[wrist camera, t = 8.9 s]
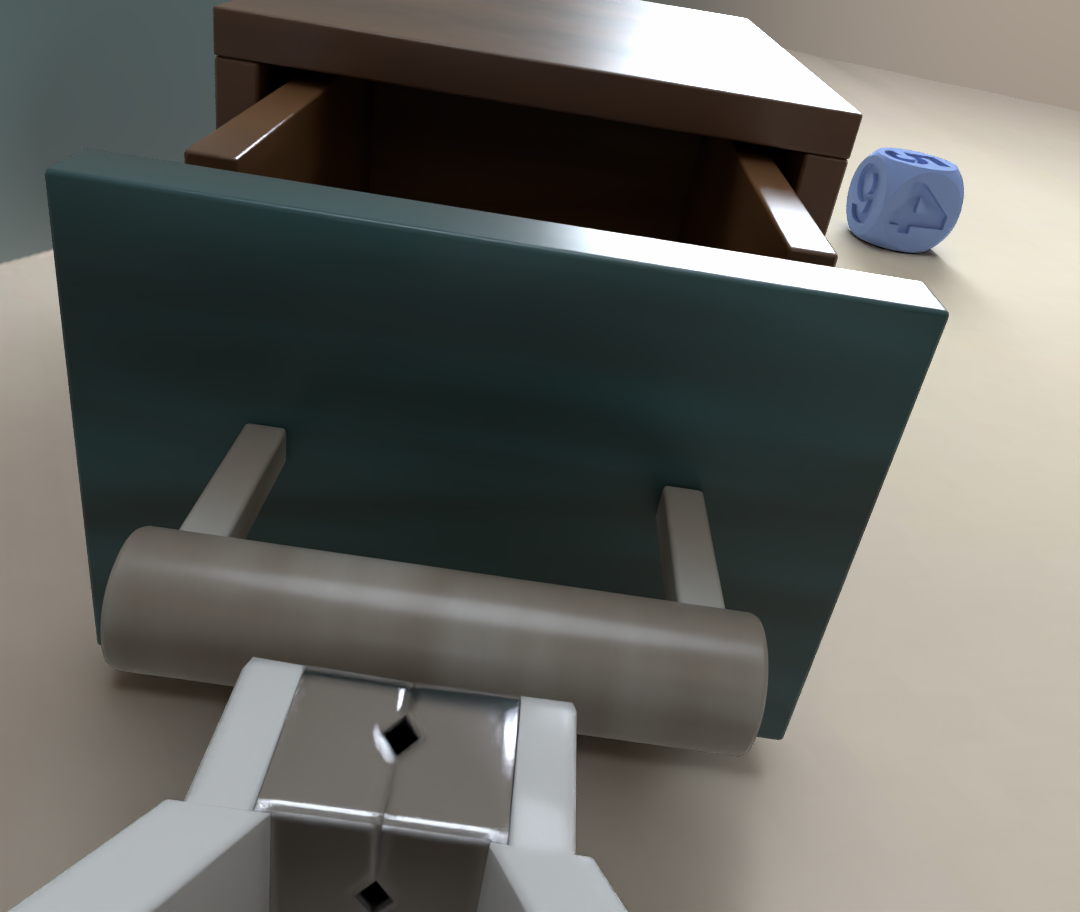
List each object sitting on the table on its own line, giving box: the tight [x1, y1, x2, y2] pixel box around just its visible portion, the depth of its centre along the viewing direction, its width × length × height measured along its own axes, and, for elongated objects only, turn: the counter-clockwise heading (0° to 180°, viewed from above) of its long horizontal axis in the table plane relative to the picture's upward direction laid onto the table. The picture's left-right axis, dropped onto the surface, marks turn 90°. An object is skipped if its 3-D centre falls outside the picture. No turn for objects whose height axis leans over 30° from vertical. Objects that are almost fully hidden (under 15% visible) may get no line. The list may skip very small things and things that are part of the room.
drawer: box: [45, 70, 949, 756], centre depth 19 cm, size 19×12×8 cm, turn 178°
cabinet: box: [213, 0, 862, 236], centre depth 28 cm, size 16×13×10 cm
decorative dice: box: [846, 148, 964, 253], centre depth 47 cm, size 4×4×4 cm
